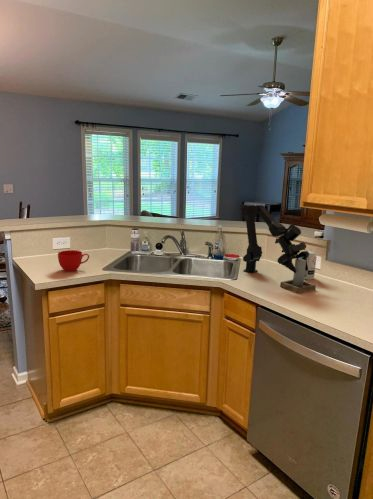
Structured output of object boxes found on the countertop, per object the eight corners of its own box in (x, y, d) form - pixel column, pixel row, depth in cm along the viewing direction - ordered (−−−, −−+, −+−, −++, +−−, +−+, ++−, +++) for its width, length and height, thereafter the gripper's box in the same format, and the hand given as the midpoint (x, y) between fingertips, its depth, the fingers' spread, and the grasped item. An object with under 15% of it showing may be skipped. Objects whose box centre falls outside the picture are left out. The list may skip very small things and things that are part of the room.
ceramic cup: (91, 271, 204) (91, 254, 202) (60, 274, 197) (59, 256, 195) (87, 265, 216) (86, 249, 214) (57, 268, 208) (56, 251, 206)
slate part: (294, 284, 191) (297, 258, 189) (304, 286, 188) (307, 260, 186) (290, 286, 187) (293, 260, 184) (300, 288, 184) (304, 262, 181)
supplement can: (298, 275, 212) (300, 250, 208) (313, 276, 210) (315, 251, 207) (299, 279, 204) (302, 253, 201) (314, 280, 202) (317, 254, 199)
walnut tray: (280, 286, 190) (280, 281, 189) (296, 283, 196) (296, 278, 196) (299, 293, 180) (299, 288, 179) (315, 289, 186) (315, 285, 186)
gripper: (284, 238, 180) (299, 265, 174) (308, 235, 191) (324, 261, 184) (270, 250, 189) (285, 276, 182) (295, 247, 199) (309, 272, 192)
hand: (301, 271), depth 185 cm, fingers open, 9 cm apart
